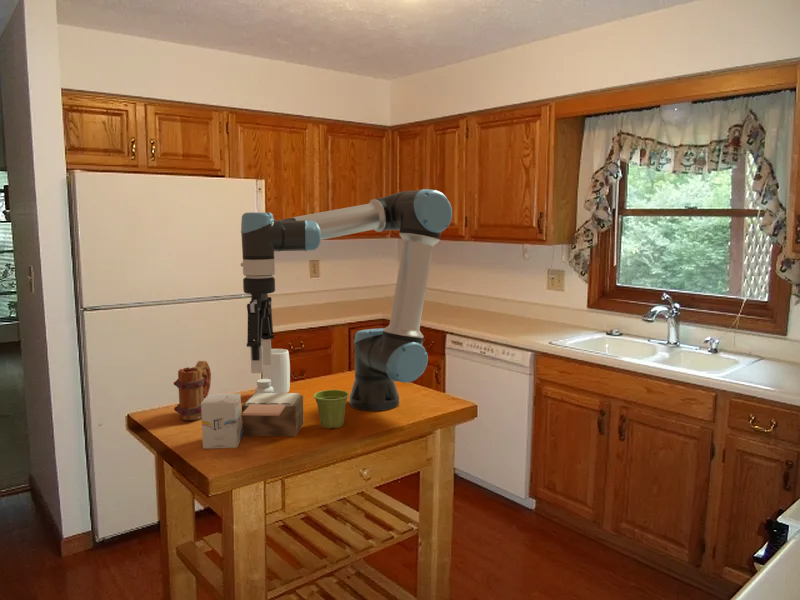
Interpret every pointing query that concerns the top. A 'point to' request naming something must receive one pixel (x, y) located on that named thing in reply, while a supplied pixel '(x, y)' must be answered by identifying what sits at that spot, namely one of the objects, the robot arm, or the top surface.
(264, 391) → the pill bottle
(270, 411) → the panel
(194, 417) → the mug
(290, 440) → the top surface
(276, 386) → the cup
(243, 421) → the block
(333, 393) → the plant pot
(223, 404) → the ink box
